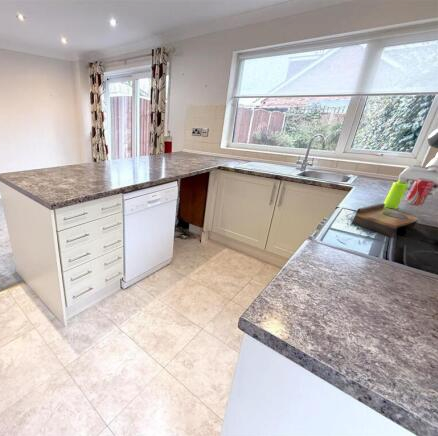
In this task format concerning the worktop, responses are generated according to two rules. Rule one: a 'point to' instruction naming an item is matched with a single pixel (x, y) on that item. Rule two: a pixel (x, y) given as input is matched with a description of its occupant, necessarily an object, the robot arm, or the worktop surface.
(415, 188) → the beverage can
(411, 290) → the worktop surface
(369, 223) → the shelf
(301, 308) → the worktop surface
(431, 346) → the worktop surface
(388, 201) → the soap dispenser
